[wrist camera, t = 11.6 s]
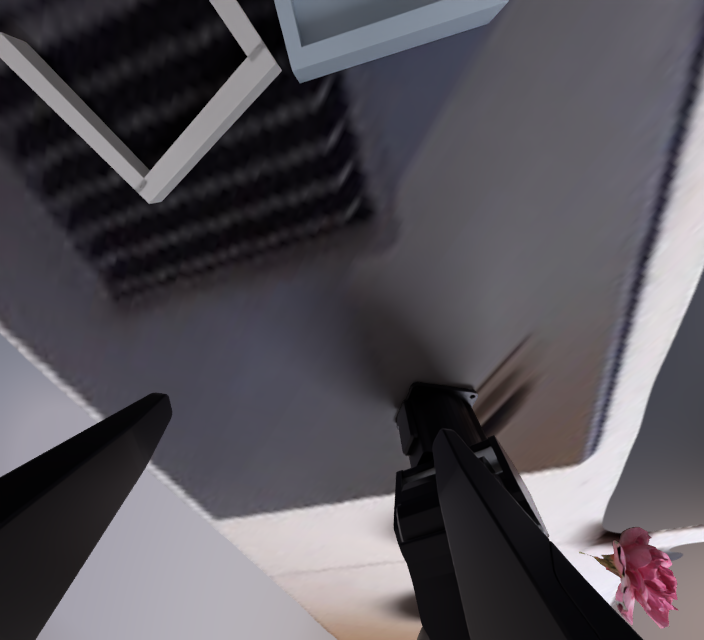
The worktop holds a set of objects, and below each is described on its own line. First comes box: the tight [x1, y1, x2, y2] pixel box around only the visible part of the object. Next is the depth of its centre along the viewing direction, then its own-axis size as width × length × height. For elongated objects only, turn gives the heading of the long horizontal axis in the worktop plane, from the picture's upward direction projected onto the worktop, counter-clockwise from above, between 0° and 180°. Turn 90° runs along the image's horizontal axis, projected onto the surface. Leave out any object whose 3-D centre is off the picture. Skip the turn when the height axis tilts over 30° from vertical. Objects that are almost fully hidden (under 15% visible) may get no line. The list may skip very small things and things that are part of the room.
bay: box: [0, 0, 282, 204], centre depth 14 cm, size 9×11×1 cm
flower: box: [579, 527, 678, 628], centre depth 38 cm, size 11×10×10 cm
